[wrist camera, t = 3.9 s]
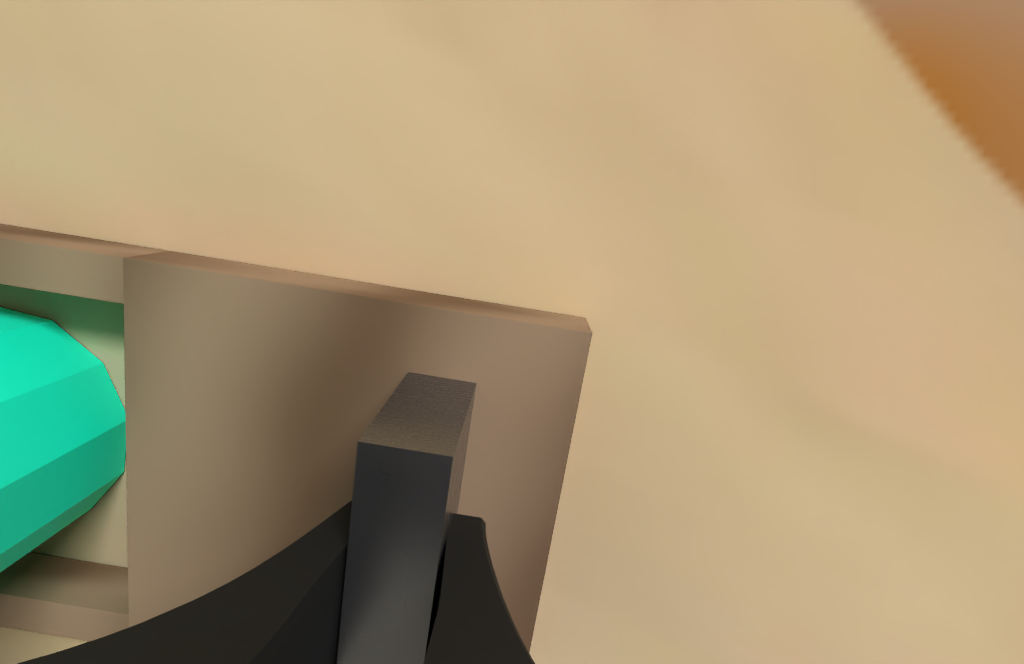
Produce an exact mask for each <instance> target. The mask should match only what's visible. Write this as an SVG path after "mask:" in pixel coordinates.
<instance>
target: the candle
mask: <svg viewBox="0 0 1024 664" xmlns="http://www.w3.org/2000/svg"><path fill="white" fill-rule="evenodd" d="M125 456H126V413H125V409H124V407H123V405H122V403H121V401H120V399H119V396H118V394H117V392H116V390H115V388H114V386H113V383H112V381H111V379H110V377H109V375H108V373H107V370H106V368H105V366H104V364H103V363H102V362H101V361H100V360H99V359H98V358H96V357H95V356H94V355H93V354H92V353H91V352H89V351H88V350H87V349H86V348H85V347H83V346H82V345H81V344H80V343H79V342H77V341H76V340H75V339H74V338H73V337H71V336H70V335H69V334H68V333H67V332H65V331H64V330H63V329H62V328H61V327H59V326H58V325H57V324H56V323H55V322H53V321H52V320H49V319H45V318H41V317H38V316H34V315H30V314H26V313H22V312H18V311H14V310H11V309H7V308H3V307H0V572H2V571H3V570H5V569H6V568H7V567H9V566H10V565H12V564H13V563H15V562H16V561H17V560H19V559H20V558H22V557H23V556H25V555H26V554H27V553H29V552H30V551H32V550H33V549H35V548H36V547H37V546H39V545H40V544H42V543H43V542H45V541H46V540H47V539H49V538H50V537H52V536H53V535H55V534H56V533H57V532H59V531H60V530H62V529H63V528H65V527H66V526H67V525H69V524H70V523H72V522H73V521H75V520H76V519H77V518H79V517H80V516H82V515H83V514H85V513H86V512H87V511H89V510H90V509H92V508H93V506H94V505H95V504H96V503H97V502H98V501H99V500H100V499H101V497H102V496H103V495H104V494H105V493H106V492H107V491H108V489H109V488H110V487H111V486H112V485H113V484H114V483H115V482H116V480H117V479H118V478H119V477H120V476H121V475H122V474H123V473H124V466H125Z"/></svg>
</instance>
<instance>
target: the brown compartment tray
mask: <svg viewBox="0 0 1024 664" xmlns="http://www.w3.org/2000/svg"><path fill="white" fill-rule="evenodd" d="M0 284H4V285H10V286H17V287H23V288H29V289H35V290H41V291H48V292H54V293H60V294H66V295H72V296H79V297H85V298H91V299H97V300H103V301H110V302H116V303H122V304H124V351H125V413H126V474H127V536H128V568H123V567H117V566H111V565H105V564H99V563H93V562H87V561H80V560H74V559H68V558H62V557H56V556H50V555H43V554H37V553H31V552H29V553H27V554H26V555H25V556H23V557H22V558H20V559H19V560H17V561H16V562H15V563H13V564H12V565H10V566H9V567H7V568H6V569H5V570H3V571H2V572H0V626H1V627H7V628H13V629H19V630H25V631H31V632H38V633H44V634H50V635H56V636H62V637H68V638H74V639H81V640H87V641H93V640H96V639H99V638H102V637H105V636H107V635H110V634H113V633H115V632H118V631H121V630H123V629H126V628H129V627H132V626H134V625H137V624H139V623H142V622H144V621H147V620H149V619H151V618H153V617H156V616H158V615H160V614H163V613H165V612H167V611H170V610H172V609H174V608H176V607H179V606H181V605H183V604H186V603H188V602H190V601H193V600H195V599H197V598H199V597H201V596H203V595H205V594H207V593H209V592H211V591H213V590H215V589H217V588H219V587H221V586H223V585H225V584H226V583H228V582H230V581H232V580H234V579H236V578H238V577H239V576H241V575H243V574H245V573H246V572H248V571H250V570H252V569H253V568H255V567H256V566H258V565H260V564H261V563H263V562H264V561H266V560H268V559H269V558H271V557H272V556H274V555H275V554H277V553H279V552H280V551H282V550H283V549H285V548H286V547H288V546H289V545H291V544H292V543H293V542H295V541H296V540H298V539H299V538H301V537H302V536H303V535H305V534H306V533H308V532H309V531H310V530H312V529H313V528H315V527H316V526H317V525H319V524H320V523H321V522H323V521H324V520H325V519H327V518H328V517H329V516H331V515H332V514H333V513H335V512H336V511H337V510H339V509H340V508H341V507H343V506H344V505H346V504H347V503H348V502H350V501H351V500H352V507H351V518H350V528H349V539H348V549H347V560H346V571H345V581H344V592H343V602H342V613H341V623H340V634H339V644H338V655H337V664H424V660H425V657H426V653H427V649H428V646H429V642H430V638H431V635H432V631H433V627H434V622H435V615H436V608H437V601H438V594H439V587H440V581H441V574H442V567H443V560H444V553H445V546H446V539H447V534H448V530H449V527H450V524H451V521H452V518H453V516H454V513H456V514H462V515H468V516H474V517H480V518H482V519H483V520H484V522H485V523H486V538H487V544H488V548H489V553H490V557H491V561H492V565H493V568H494V571H495V574H496V577H497V581H498V584H499V587H500V590H501V592H502V595H503V598H504V600H505V603H506V605H507V608H508V610H509V613H510V615H511V618H512V620H513V622H514V624H515V626H516V629H517V631H518V633H519V635H520V637H521V639H522V641H523V643H524V645H525V646H526V648H527V650H528V652H529V651H530V646H531V641H532V636H533V631H534V626H535V620H536V615H537V610H538V605H539V600H540V595H541V590H542V585H543V580H544V575H545V570H546V565H547V560H548V554H549V549H550V544H551V539H552V534H553V529H554V524H555V519H556V514H557V509H558V504H559V499H560V494H561V489H562V483H563V478H564V473H565V468H566V463H567V458H568V453H569V448H570V443H571V438H572V433H573V428H574V423H575V418H576V412H577V407H578V402H579V397H580V392H581V387H582V382H583V377H584V372H585V367H586V362H587V357H588V352H589V347H590V341H591V336H592V332H591V329H590V327H589V325H588V322H587V320H586V318H582V317H576V316H570V315H564V314H557V313H551V312H545V311H539V310H533V309H526V308H520V307H514V306H508V305H502V304H495V303H489V302H483V301H477V300H470V299H464V298H458V297H452V296H446V295H439V294H433V293H427V292H421V291H415V290H408V289H402V288H396V287H390V286H384V285H377V284H371V283H365V282H359V281H352V280H346V279H340V278H334V277H328V276H321V275H315V274H309V273H303V272H297V271H290V270H284V269H278V268H272V267H266V266H259V265H253V264H247V263H241V262H234V261H228V260H222V259H216V258H210V257H203V256H197V255H191V254H185V253H179V252H172V251H166V250H160V249H154V248H148V247H141V246H135V245H129V244H123V243H117V242H110V241H104V240H98V239H92V238H85V237H79V236H73V235H67V234H61V233H54V232H48V231H42V230H36V229H30V228H23V227H17V226H11V225H5V224H0Z"/></svg>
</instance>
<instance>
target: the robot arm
mask: <svg viewBox="0 0 1024 664" xmlns="http://www.w3.org/2000/svg"><path fill="white" fill-rule="evenodd" d="M351 507H352V500H351V501H350V502H348V503H347V504H346V505H344V506H343V507H341V508H340V509H339V510H337V511H336V512H335V513H333V514H332V515H331V516H329V517H328V518H327V519H325V520H324V521H323V522H321V523H320V524H319V525H317V526H316V527H315V528H313V529H312V530H310V531H309V532H308V533H306V534H305V535H303V536H302V537H301V538H299V539H298V540H296V541H295V542H293V543H292V544H291V545H289V546H288V547H286V548H285V549H283V550H282V551H280V552H279V553H277V554H275V555H274V556H272V557H271V558H269V559H268V560H266V561H264V562H263V563H261V564H260V565H258V566H256V567H255V568H253V569H252V570H250V571H248V572H246V573H245V574H243V575H241V576H239V577H238V578H236V579H234V580H232V581H230V582H228V583H226V584H225V585H223V586H221V587H219V588H217V589H215V590H213V591H211V592H209V593H207V594H205V595H203V596H201V597H199V598H197V599H195V600H193V601H190V602H188V603H186V604H183V605H181V606H179V607H176V608H174V609H172V610H170V611H167V612H165V613H163V614H160V615H158V616H156V617H153V618H151V619H149V620H147V621H144V622H142V623H139V624H137V625H134V626H132V627H129V628H126V629H123V630H121V631H118V632H115V633H113V634H110V635H107V636H105V637H102V638H99V639H96V640H93V641H90V642H87V643H84V644H81V645H78V646H75V647H72V648H69V649H66V650H63V651H60V652H56V653H53V654H50V655H46V656H43V657H39V658H35V659H32V660H28V661H25V662H21V663H18V664H337V655H338V644H339V634H340V623H341V613H342V602H343V592H344V581H345V571H346V560H347V549H348V539H349V528H350V518H351ZM424 664H535V663H534V661H533V659H532V658H531V656H530V654H529V652H528V650H527V648H526V646H525V645H524V643H523V641H522V639H521V637H520V635H519V633H518V631H517V629H516V626H515V624H514V622H513V620H512V618H511V615H510V613H509V610H508V608H507V605H506V603H505V600H504V598H503V595H502V592H501V590H500V587H499V584H498V581H497V577H496V574H495V571H494V568H493V565H492V561H491V557H490V553H489V548H488V544H487V538H486V523H485V522H484V520H483V519H482V518H480V517H474V516H468V515H462V514H456V513H454V516H453V518H452V521H451V524H450V527H449V530H448V534H447V539H446V546H445V553H444V560H443V567H442V574H441V581H440V587H439V594H438V601H437V608H436V615H435V622H434V627H433V631H432V635H431V638H430V642H429V646H428V649H427V653H426V657H425V660H424Z"/></svg>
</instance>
